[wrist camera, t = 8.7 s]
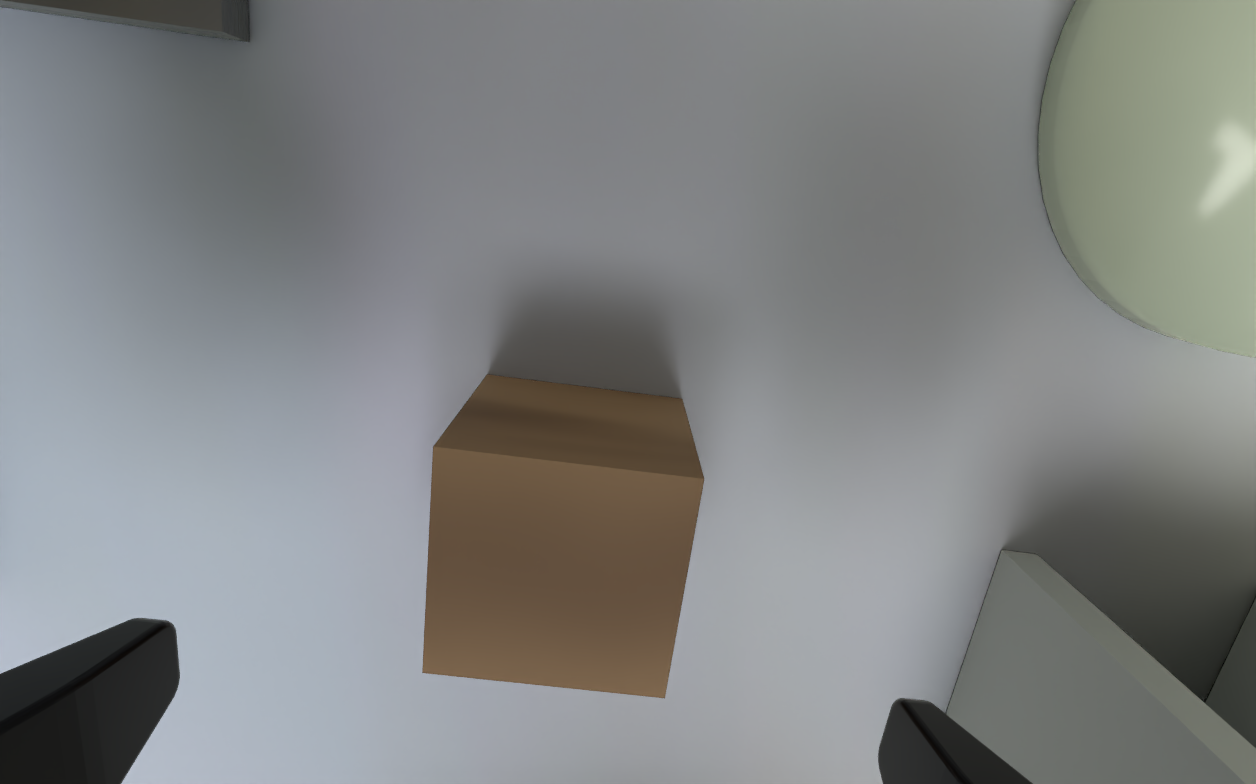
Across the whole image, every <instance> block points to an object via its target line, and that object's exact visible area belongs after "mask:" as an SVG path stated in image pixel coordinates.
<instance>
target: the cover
mask: <svg viewBox="0 0 1256 784" xmlns="http://www.w3.org/2000/svg"><path fill="white" fill-rule="evenodd" d="M946 715H948V716H949V717H950V718H951V719H953V720H954V721H955V722H956V723H958V724H959V725H960V726H961V727H963V728H964V729H965V730H966V731H968V732H969V733H970V734H971V735H973V736H974V737H975V738H976V739H978V740H979V741H980V742H981V743H983V744H984V745H985V746H987V747H988V748H989V749H990V750H992V751H993V752H994V753H995V754H997V755H998V756H999V757H1000V758H1002V759H1003V760H1004V761H1005V762H1007V763H1008V764H1009V765H1010V766H1012V767H1013V768H1014V769H1015V770H1017V771H1018V772H1019V773H1020V774H1022V775H1023V776H1024V777H1025V778H1027V779H1028V780H1029V781H1030V782H1032V783H1033V784H1256V598H1255V600H1254V603H1253V605H1252V607H1251V609H1250V611H1249V613H1248V615H1247V617H1246V619H1245V621H1244V623H1243V625H1242V627H1241V630H1240V632H1239V634H1238V636H1237V638H1236V640H1235V642H1234V644H1233V646H1232V648H1231V650H1230V652H1229V654H1228V657H1227V659H1226V661H1225V663H1224V665H1223V667H1222V669H1221V671H1220V673H1219V675H1218V677H1217V679H1216V682H1215V684H1214V686H1213V688H1212V690H1211V692H1210V694H1209V696H1208V698H1207V700H1206V702H1205V703H1204V702H1203V701H1202V700H1201V699H1199V698H1198V697H1197V696H1196V695H1195V694H1194V693H1193V692H1192V691H1190V690H1189V689H1188V688H1187V687H1186V686H1185V685H1184V684H1183V683H1181V682H1180V681H1179V680H1178V679H1177V678H1176V677H1175V676H1173V675H1172V674H1171V673H1170V672H1169V671H1168V670H1167V669H1166V668H1164V667H1163V666H1162V665H1161V664H1160V663H1159V662H1158V661H1157V660H1155V659H1154V658H1153V657H1152V656H1151V655H1150V654H1149V653H1148V652H1146V651H1145V650H1144V649H1143V648H1142V647H1141V646H1140V645H1139V644H1137V643H1136V642H1135V641H1134V640H1133V639H1132V638H1131V637H1130V636H1128V635H1127V634H1126V633H1125V632H1124V631H1123V630H1122V629H1120V628H1119V627H1118V626H1117V625H1116V624H1115V623H1114V622H1113V621H1111V620H1110V619H1109V618H1108V617H1107V616H1106V615H1105V614H1104V613H1102V612H1101V611H1100V610H1099V609H1098V608H1097V607H1096V606H1095V605H1093V604H1092V603H1091V602H1090V601H1089V600H1088V599H1087V598H1086V597H1084V596H1083V595H1082V594H1081V593H1080V592H1079V591H1078V590H1076V589H1075V588H1074V587H1073V586H1072V585H1071V584H1070V583H1069V582H1067V581H1066V580H1065V579H1064V578H1063V577H1062V576H1061V575H1060V574H1058V573H1057V572H1056V571H1055V570H1054V569H1053V568H1052V567H1051V566H1049V565H1048V564H1047V563H1046V562H1045V561H1044V560H1043V559H1042V558H1040V557H1039V556H1038V555H1037V554H1032V553H1023V552H1015V551H1006V550H1001V553H1000V556H999V559H998V562H997V565H996V568H995V571H994V574H993V577H992V580H991V583H990V586H989V589H988V591H987V594H986V597H985V600H984V603H983V606H982V609H981V612H980V615H979V618H978V621H977V624H976V627H975V630H974V633H973V636H972V639H971V641H970V644H969V647H968V650H967V653H966V656H965V659H964V662H963V665H962V668H961V671H960V674H959V677H958V680H957V683H956V686H955V688H954V691H953V694H952V697H951V700H950V703H949V706H948V709H947V712H946Z"/></svg>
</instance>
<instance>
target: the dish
mask: <svg viewBox="0 0 1256 784" xmlns="http://www.w3.org/2000/svg"><path fill="white" fill-rule="evenodd" d="M1038 146H1039V173H1040V180H1041V187H1042V193H1043V200H1044V203H1045V207H1046V210H1047V214H1048V217H1049V220H1050V224H1051V227H1052V230H1053V232H1054V234H1055V236H1056V238H1057V241H1058V243H1059V245H1060V247H1061V249H1062V251H1063V254H1064V255H1065V257H1066V258H1067V260H1068V261H1069V263H1070V264H1071V266H1072V267H1073V269H1074V270H1075V272H1076V273H1077V275H1078V276H1079V278H1080V279H1081V280H1082V281H1083V282H1084V283H1085V284H1086V285H1087V287H1088V288H1089V289H1090V290H1091V291H1092V292H1093V293H1094V294H1095V295H1096V296H1097V297H1098V298H1099V299H1100V300H1101V301H1103V302H1104V303H1105V304H1107V305H1108V306H1109V307H1110V308H1112V309H1113V310H1114V311H1116V312H1117V313H1118V314H1119V315H1121V316H1123V317H1125V318H1127V319H1129V320H1130V321H1132V322H1134V323H1136V324H1138V325H1140V326H1141V327H1143V328H1146V329H1149V330H1152V331H1154V332H1157V333H1160V334H1163V335H1165V336H1168V337H1172V338H1175V339H1179V340H1183V341H1186V342H1190V343H1194V344H1197V345H1201V346H1205V347H1209V348H1212V349H1216V350H1220V351H1224V352H1229V353H1234V354H1239V355H1244V356H1249V357H1256V0H1076V2H1075V4H1074V6H1073V8H1072V10H1071V12H1070V14H1069V16H1068V18H1067V20H1066V23H1065V25H1064V27H1063V30H1062V32H1061V35H1060V38H1059V41H1058V44H1057V47H1056V49H1055V52H1054V55H1053V58H1052V61H1051V64H1050V68H1049V72H1048V77H1047V81H1046V85H1045V90H1044V94H1043V98H1042V106H1041V115H1040V124H1039V133H1038Z"/></svg>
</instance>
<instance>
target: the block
mask: <svg viewBox="0 0 1256 784" xmlns="http://www.w3.org/2000/svg"><path fill="white" fill-rule="evenodd" d="M703 483H704V476H703V472H702V469H701V465H700V462H699V458H698V454H697V451H696V447H695V443H694V440H693V436H692V433H691V429H690V425H689V422H688V418H687V414H686V411H685V407H684V403H683V400H682V399H680V398H672V397H664V396H656V395H648V394H640V393H632V392H624V391H616V390H608V389H600V388H592V387H584V386H576V385H568V384H560V383H552V382H544V381H536V380H528V379H520V378H512V377H504V376H496V375H488V374H487V375H486V377H485V378H484V379H483V381H482V382H481V383H480V385H479V386H478V387H477V389H476V390H475V391H474V393H473V394H472V395H471V397H470V398H469V399H468V401H467V402H466V403H465V405H464V406H463V407H462V409H461V410H460V411H459V413H458V414H457V416H456V417H455V418H454V420H453V421H452V422H451V424H450V425H449V426H448V428H447V429H446V430H445V432H444V433H443V434H442V436H441V437H440V438H439V440H438V441H437V442H436V444H435V445H434V446H433V462H432V483H431V504H430V525H429V546H428V567H427V588H426V609H425V630H424V651H423V672H422V673H429V674H438V675H448V676H457V677H467V678H477V679H486V680H496V681H505V682H515V683H524V684H534V685H544V686H553V687H563V688H572V689H582V690H591V691H601V692H611V693H620V694H630V695H639V696H649V697H659V698H665V694H666V688H667V683H668V677H669V672H670V666H671V660H672V655H673V649H674V644H675V638H676V633H677V627H678V622H679V616H680V611H681V605H682V600H683V594H684V589H685V583H686V577H687V572H688V566H689V561H690V555H691V550H692V544H693V539H694V533H695V528H696V522H697V517H698V511H699V506H700V500H701V494H702V489H703Z"/></svg>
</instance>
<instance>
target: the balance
mask: <svg viewBox="0 0 1256 784" xmlns="http://www.w3.org/2000/svg"><path fill="white" fill-rule="evenodd" d="M0 7H5V8H12V9H19V10H26V11H33V12H40V13H47V14H54V15H61V16H68V17H75V18H82V19H89V20H96V21H103V22H110V23H117V24H124V25H131V26H138V27H145V28H152V29H159V30H166V31H173V32H180V33H187V34H194V35H201V36H208V37H215V38H222V39H229V40H236V41H243V42H249V16H248V0H0Z"/></svg>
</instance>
